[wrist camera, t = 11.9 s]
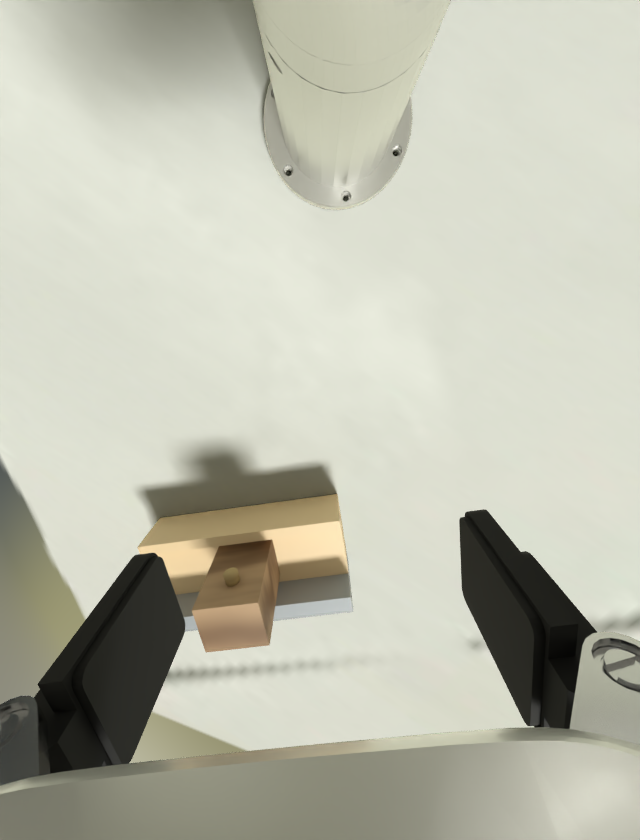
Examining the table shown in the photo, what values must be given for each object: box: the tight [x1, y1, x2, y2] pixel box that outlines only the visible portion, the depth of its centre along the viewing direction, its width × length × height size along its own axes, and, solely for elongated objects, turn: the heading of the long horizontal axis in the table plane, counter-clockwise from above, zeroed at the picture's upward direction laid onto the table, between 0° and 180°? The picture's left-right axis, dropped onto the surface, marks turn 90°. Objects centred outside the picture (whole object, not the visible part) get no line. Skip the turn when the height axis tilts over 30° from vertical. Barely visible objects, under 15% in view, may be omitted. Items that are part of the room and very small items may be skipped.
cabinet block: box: [192, 539, 280, 652], centre depth 36 cm, size 6×6×9 cm
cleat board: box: [138, 494, 353, 631], centre depth 41 cm, size 10×22×8 cm, turn 99°
